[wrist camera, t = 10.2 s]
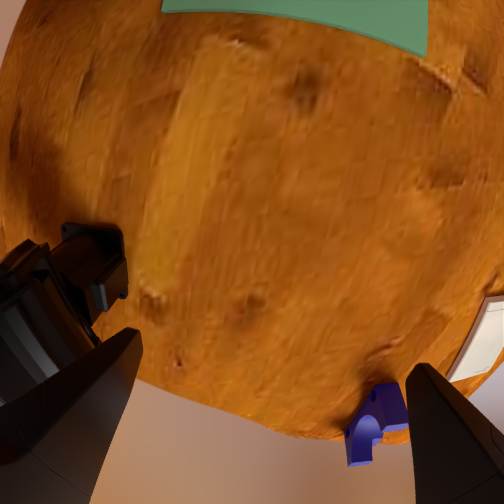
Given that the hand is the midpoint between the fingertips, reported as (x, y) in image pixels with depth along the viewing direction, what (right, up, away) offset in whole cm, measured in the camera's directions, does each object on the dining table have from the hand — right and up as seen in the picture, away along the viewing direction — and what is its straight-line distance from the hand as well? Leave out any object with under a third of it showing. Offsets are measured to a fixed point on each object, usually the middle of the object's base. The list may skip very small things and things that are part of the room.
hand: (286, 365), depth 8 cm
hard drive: (+27, -7, +17) cm, 33 cm away
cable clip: (+15, -17, +22) cm, 32 cm away
